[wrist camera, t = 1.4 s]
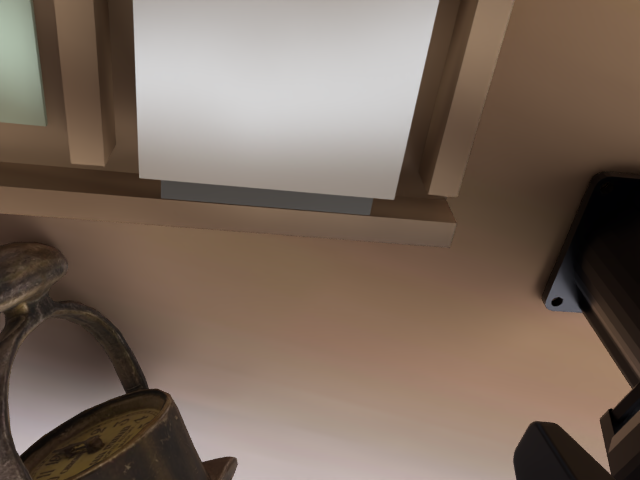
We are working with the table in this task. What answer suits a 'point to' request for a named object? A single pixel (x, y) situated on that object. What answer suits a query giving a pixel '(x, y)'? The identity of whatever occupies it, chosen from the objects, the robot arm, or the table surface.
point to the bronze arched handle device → (101, 420)
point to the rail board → (111, 135)
